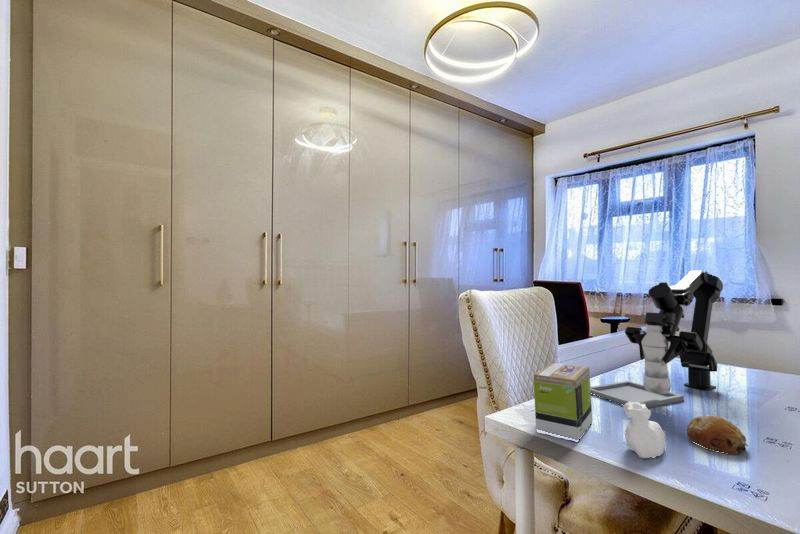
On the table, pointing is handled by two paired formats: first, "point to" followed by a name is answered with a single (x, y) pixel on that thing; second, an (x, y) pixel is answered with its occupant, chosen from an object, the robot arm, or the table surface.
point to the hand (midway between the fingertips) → (653, 360)
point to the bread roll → (716, 434)
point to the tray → (634, 394)
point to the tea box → (563, 400)
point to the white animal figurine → (643, 431)
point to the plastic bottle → (655, 360)
